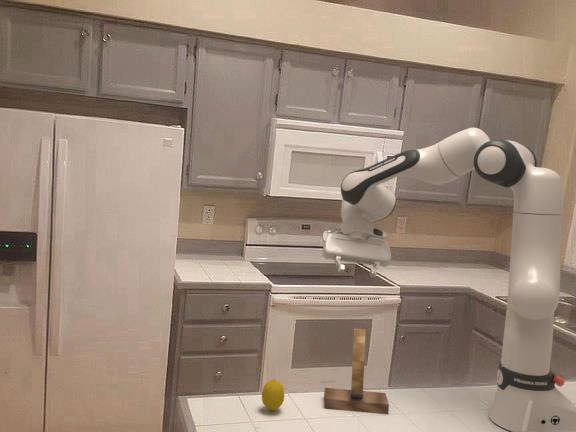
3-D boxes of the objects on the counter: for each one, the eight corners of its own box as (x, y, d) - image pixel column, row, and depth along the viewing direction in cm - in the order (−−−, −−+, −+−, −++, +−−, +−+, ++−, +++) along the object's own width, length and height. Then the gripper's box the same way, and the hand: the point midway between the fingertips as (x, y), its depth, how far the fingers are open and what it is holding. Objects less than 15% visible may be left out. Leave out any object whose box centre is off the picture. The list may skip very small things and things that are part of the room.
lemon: (280, 417, 126) (282, 385, 125) (258, 414, 127) (260, 382, 126) (285, 407, 131) (287, 376, 130) (263, 404, 132) (265, 373, 131)
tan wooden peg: (362, 397, 134) (364, 330, 139) (363, 398, 131) (366, 329, 136) (350, 396, 134) (353, 329, 139) (351, 397, 131) (354, 328, 136)
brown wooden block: (384, 402, 138) (385, 392, 138) (388, 414, 131) (389, 403, 131) (324, 396, 139) (324, 386, 139) (324, 408, 132) (325, 398, 132)
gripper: (324, 223, 155) (324, 263, 147) (391, 233, 157) (394, 272, 149) (320, 235, 160) (319, 274, 152) (384, 244, 162) (387, 283, 154)
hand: (357, 273), depth 150 cm, fingers open, 8 cm apart
